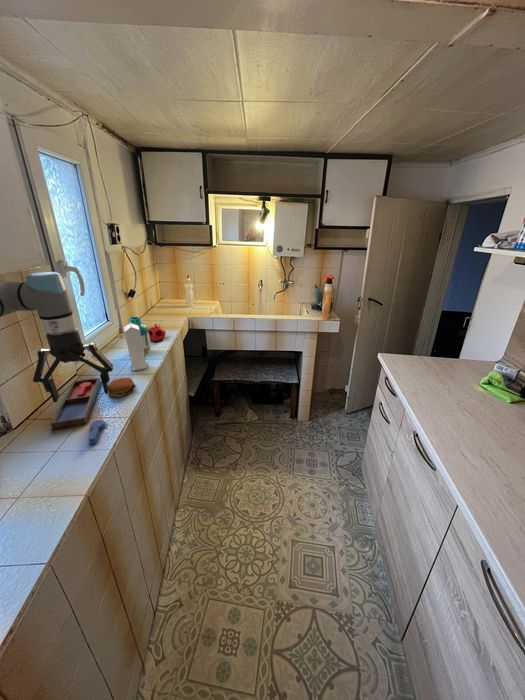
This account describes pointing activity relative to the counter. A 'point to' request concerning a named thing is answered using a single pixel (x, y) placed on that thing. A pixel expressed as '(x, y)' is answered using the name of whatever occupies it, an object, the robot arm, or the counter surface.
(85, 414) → the tray
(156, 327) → the pomegranate
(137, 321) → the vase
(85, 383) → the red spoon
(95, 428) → the blue spoon
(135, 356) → the milk
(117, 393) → the burger
